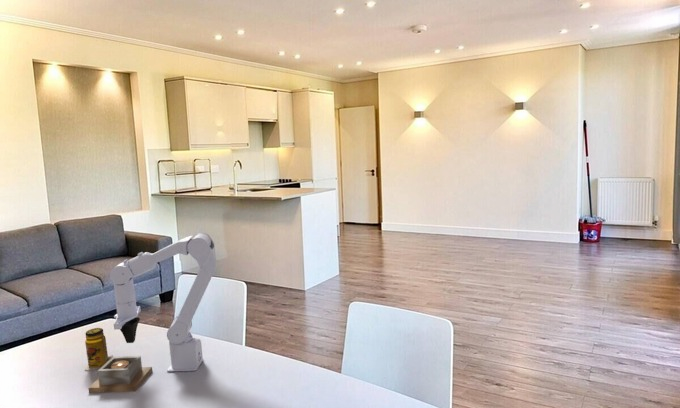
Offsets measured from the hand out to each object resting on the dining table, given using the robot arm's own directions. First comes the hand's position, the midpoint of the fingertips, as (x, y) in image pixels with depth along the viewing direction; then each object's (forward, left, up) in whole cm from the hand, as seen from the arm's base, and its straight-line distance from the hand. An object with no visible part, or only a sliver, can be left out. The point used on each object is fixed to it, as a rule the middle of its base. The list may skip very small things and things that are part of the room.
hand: (130, 342), depth 151 cm
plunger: (+1, +6, -8) cm, 10 cm away
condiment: (+15, -7, -10) cm, 19 cm away
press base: (+1, +6, -10) cm, 12 cm away
